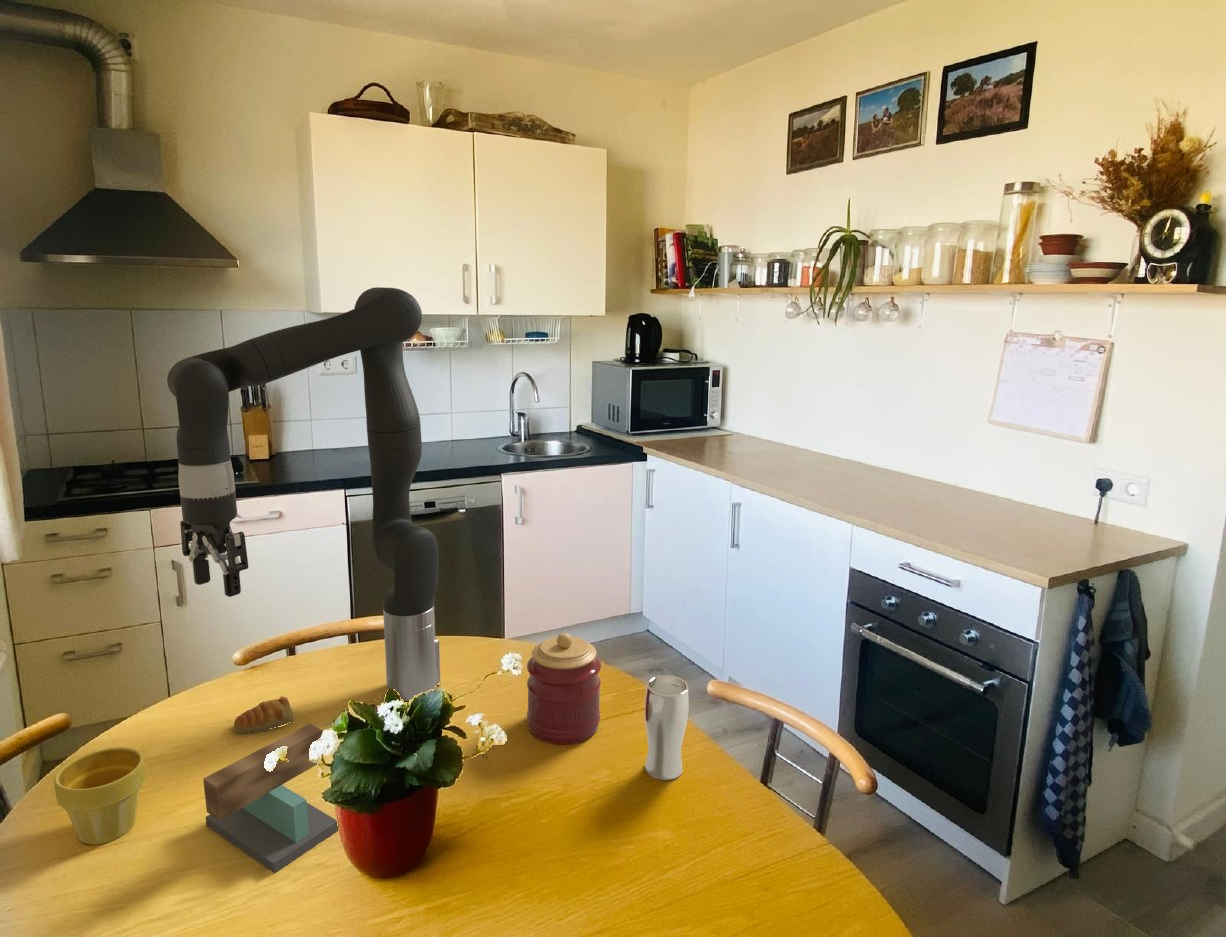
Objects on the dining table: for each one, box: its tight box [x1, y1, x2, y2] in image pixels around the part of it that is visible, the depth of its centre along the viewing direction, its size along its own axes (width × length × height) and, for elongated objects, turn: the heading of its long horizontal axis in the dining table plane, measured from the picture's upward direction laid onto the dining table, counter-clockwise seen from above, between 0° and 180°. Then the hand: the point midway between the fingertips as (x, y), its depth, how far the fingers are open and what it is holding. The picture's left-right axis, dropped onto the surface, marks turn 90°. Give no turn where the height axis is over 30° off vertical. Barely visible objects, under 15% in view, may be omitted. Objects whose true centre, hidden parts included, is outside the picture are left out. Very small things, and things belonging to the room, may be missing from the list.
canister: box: [526, 632, 602, 745], centre depth 133 cm, size 13×13×18 cm
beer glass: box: [644, 674, 690, 781], centre depth 122 cm, size 7×7×15 cm
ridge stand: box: [205, 784, 339, 874], centre depth 107 cm, size 10×16×7 cm, turn 57°
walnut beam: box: [202, 723, 324, 820], centre depth 105 cm, size 16×3×5 cm, turn 147°
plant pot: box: [53, 746, 146, 846], centre depth 106 cm, size 10×10×10 cm
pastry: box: [233, 696, 295, 735], centre depth 133 cm, size 9×7×4 cm
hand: (217, 588), depth 120 cm, fingers open, 8 cm apart
